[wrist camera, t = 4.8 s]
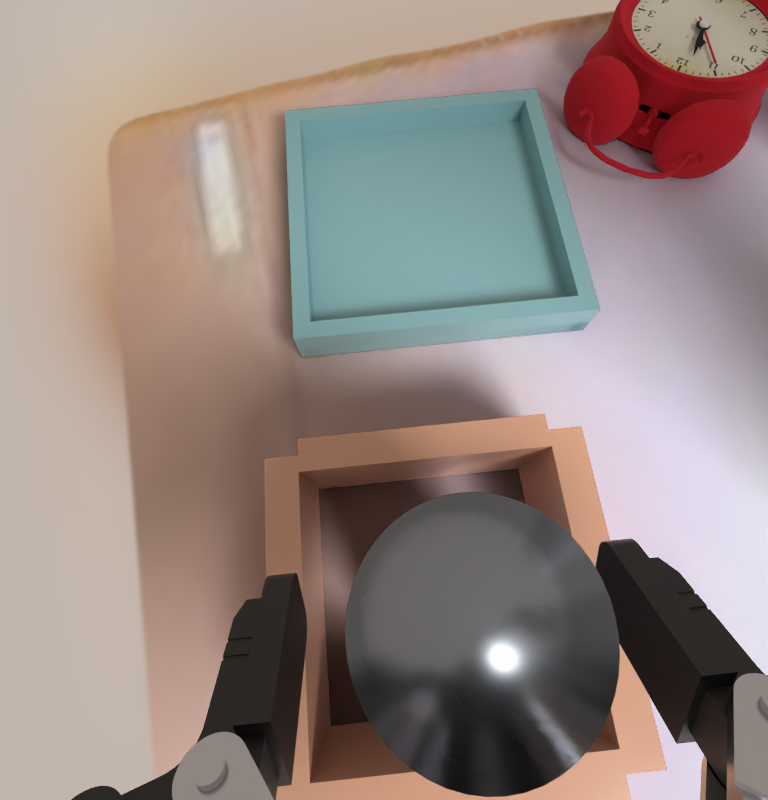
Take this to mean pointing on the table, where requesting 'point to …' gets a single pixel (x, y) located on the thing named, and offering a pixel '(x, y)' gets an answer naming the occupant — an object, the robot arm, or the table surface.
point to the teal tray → (430, 225)
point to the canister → (482, 644)
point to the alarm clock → (674, 83)
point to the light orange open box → (302, 553)
